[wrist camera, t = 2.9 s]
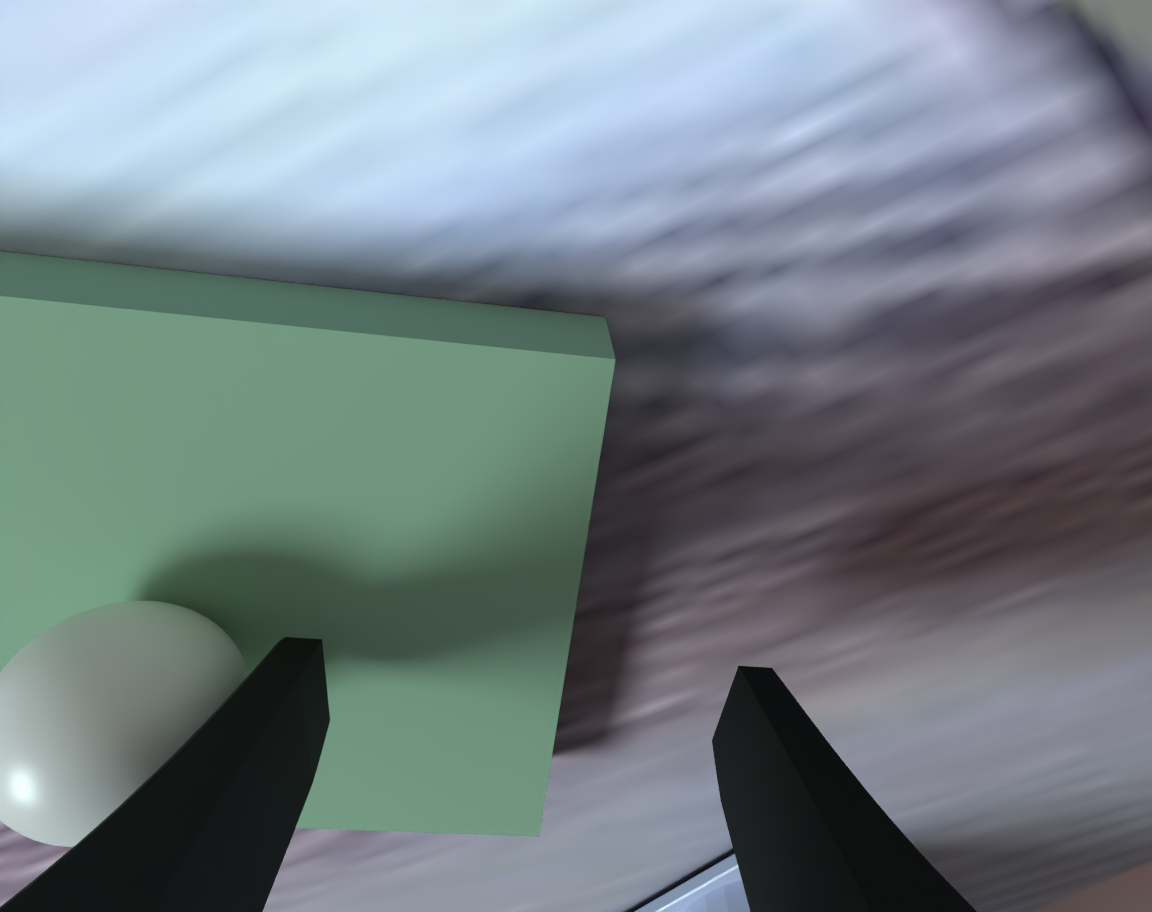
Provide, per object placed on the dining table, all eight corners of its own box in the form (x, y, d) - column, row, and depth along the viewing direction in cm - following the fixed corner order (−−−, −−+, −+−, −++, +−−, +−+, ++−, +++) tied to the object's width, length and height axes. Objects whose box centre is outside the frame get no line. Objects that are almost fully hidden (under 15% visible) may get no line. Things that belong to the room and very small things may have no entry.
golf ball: (319, 624, 11) (234, 816, 8) (226, 722, 13) (124, 921, 10) (126, 520, 10) (-57, 701, 7) (44, 641, 11) (-141, 840, 8)
